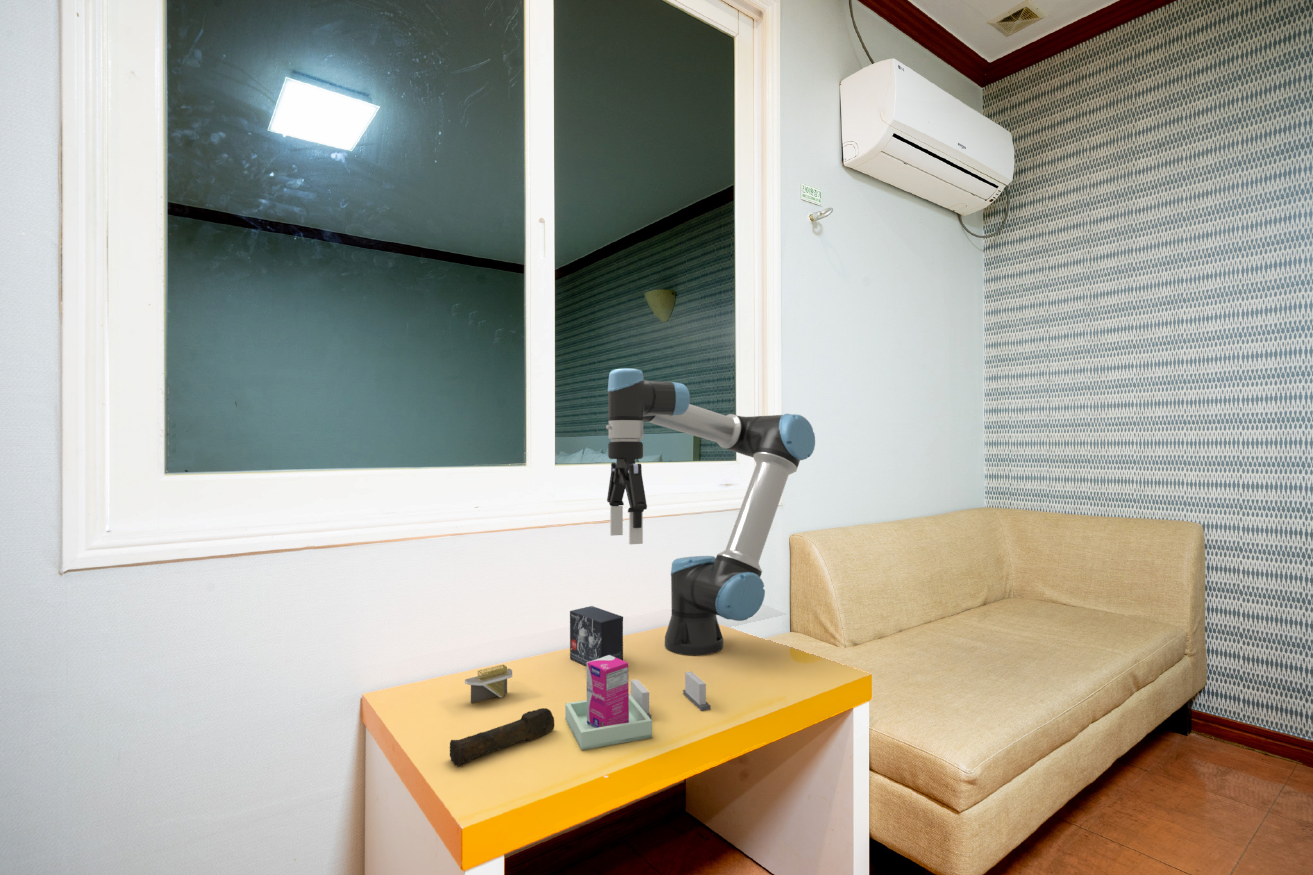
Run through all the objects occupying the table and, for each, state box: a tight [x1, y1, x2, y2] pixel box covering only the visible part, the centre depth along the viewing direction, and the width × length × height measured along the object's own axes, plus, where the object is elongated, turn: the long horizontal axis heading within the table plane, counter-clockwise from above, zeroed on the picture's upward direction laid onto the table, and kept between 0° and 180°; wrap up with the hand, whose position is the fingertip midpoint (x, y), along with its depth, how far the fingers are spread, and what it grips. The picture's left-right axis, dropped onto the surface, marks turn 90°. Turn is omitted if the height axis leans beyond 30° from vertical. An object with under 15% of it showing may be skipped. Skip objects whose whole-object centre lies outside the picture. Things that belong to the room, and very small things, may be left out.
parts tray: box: [564, 693, 653, 751], centre depth 112 cm, size 13×13×3 cm
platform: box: [464, 664, 513, 704], centre depth 125 cm, size 12×18×7 cm, turn 130°
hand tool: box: [449, 707, 555, 767], centre depth 105 cm, size 19×4×5 cm, turn 128°
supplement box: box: [586, 655, 630, 728], centre depth 112 cm, size 6×6×12 cm
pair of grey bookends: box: [630, 671, 712, 720], centre depth 122 cm, size 14×9×5 cm, turn 111°
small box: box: [569, 605, 624, 667], centre depth 146 cm, size 13×7×12 cm, turn 42°
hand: (625, 539), depth 132 cm, fingers open, 13 cm apart
